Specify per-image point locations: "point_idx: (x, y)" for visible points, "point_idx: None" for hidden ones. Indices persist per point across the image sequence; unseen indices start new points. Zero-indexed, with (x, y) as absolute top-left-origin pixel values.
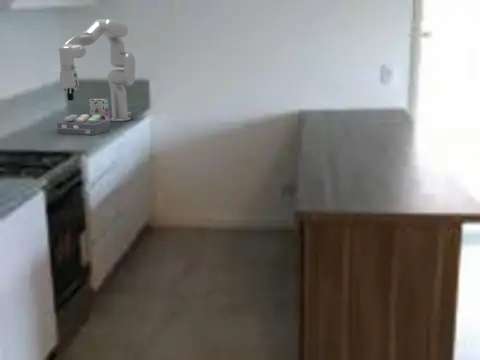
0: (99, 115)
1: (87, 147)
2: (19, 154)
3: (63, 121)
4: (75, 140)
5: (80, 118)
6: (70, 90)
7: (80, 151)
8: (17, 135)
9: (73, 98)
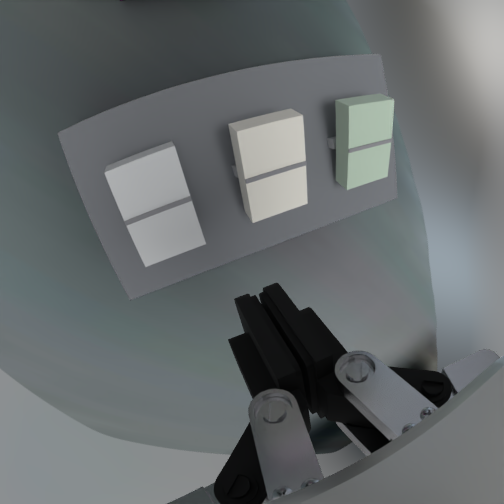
0: (391, 105)
1: (426, 315)
2: (319, 437)
3: (113, 243)
4: (349, 297)
5: (280, 195)
6: (379, 438)
7: (427, 342)
8: (43, 388)
9: (284, 291)
